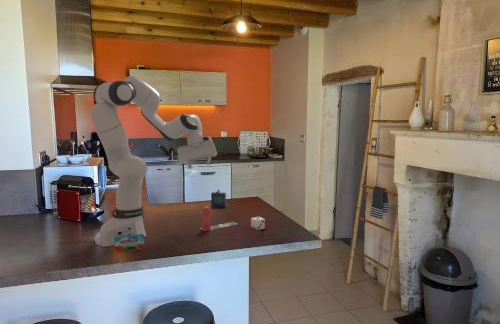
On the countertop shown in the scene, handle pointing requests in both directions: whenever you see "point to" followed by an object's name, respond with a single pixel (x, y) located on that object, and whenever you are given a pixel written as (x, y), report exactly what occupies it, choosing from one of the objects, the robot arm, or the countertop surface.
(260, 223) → the die
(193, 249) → the countertop surface
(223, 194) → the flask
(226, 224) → the game strip
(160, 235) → the countertop surface
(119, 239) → the colorful food package
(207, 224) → the pawn
